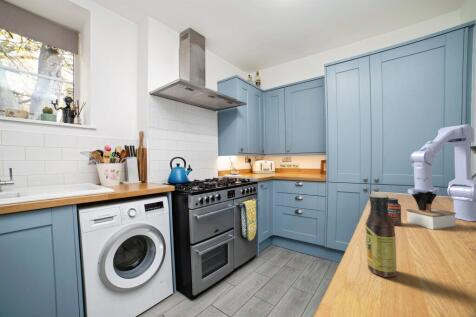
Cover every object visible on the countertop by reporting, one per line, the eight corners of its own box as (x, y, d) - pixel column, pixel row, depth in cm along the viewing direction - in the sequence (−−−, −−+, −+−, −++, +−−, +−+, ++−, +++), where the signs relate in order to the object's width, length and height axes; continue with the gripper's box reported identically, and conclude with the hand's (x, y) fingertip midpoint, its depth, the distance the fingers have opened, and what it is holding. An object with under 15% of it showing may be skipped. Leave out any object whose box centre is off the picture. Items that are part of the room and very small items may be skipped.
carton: (428, 220, 92) (427, 209, 92) (455, 226, 82) (455, 214, 82) (407, 222, 89) (406, 211, 90) (433, 229, 80) (432, 217, 80)
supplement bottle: (388, 225, 86) (386, 199, 86) (382, 221, 92) (381, 197, 92) (404, 226, 84) (403, 200, 84) (397, 222, 90) (396, 197, 90)
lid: (427, 208, 92) (427, 199, 92) (456, 214, 82) (455, 204, 82) (406, 210, 90) (405, 201, 90) (432, 216, 80) (432, 206, 80)
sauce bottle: (368, 263, 55) (365, 192, 56) (397, 270, 51) (394, 194, 52) (365, 273, 50) (362, 196, 51) (396, 282, 46) (393, 198, 47)
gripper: (420, 179, 80) (421, 213, 80) (447, 178, 83) (448, 210, 83) (402, 178, 87) (403, 209, 87) (428, 177, 90) (429, 207, 90)
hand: (424, 209), depth 85 cm, fingers closed
